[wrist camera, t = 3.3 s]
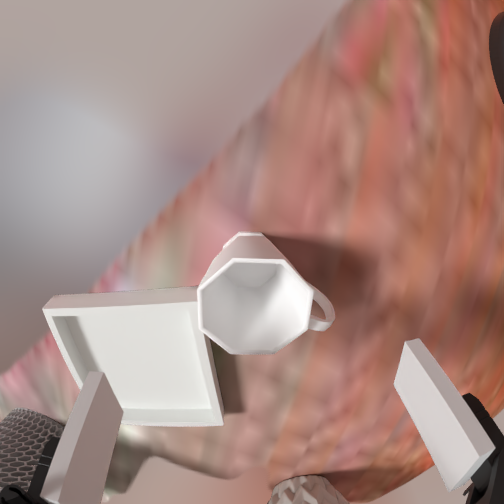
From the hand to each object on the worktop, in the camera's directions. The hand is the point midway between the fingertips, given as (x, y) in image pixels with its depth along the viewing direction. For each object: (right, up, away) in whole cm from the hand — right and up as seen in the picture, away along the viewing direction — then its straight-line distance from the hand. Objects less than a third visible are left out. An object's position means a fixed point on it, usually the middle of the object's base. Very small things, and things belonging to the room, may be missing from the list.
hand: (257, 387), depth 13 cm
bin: (-11, -5, +16) cm, 20 cm away
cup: (+1, +5, +13) cm, 14 cm away
